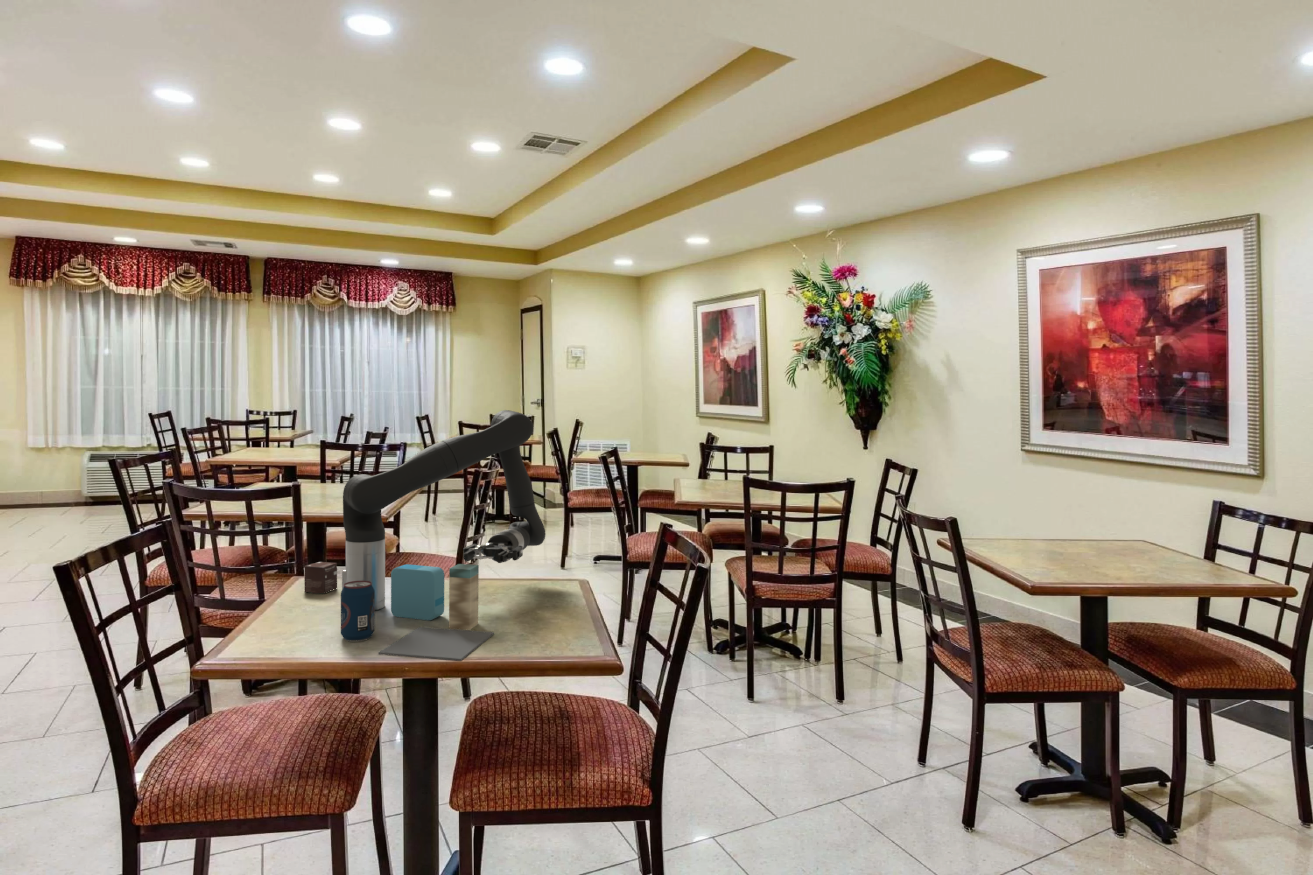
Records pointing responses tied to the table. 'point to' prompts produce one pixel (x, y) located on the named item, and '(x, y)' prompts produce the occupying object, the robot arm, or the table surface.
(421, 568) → the data package
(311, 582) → the box
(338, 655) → the table surface
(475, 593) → the birch block
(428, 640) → the rubber mat
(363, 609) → the soda can
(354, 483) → the robot arm
